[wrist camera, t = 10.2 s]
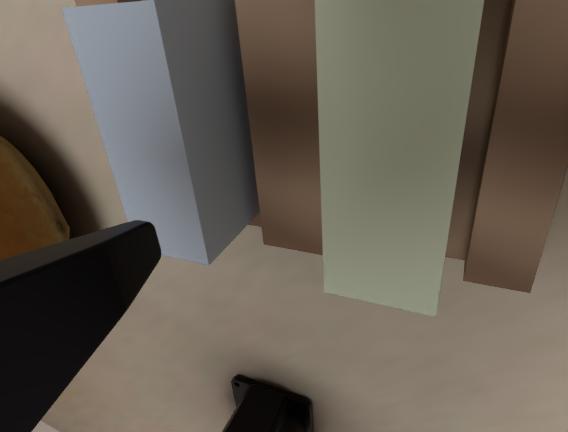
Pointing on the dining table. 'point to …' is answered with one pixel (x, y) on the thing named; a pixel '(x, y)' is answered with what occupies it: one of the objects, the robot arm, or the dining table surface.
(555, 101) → the slot rack
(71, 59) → the dining table surface
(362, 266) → the sage block
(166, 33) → the slate block
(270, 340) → the dining table surface
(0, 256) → the ceramic pitcher
